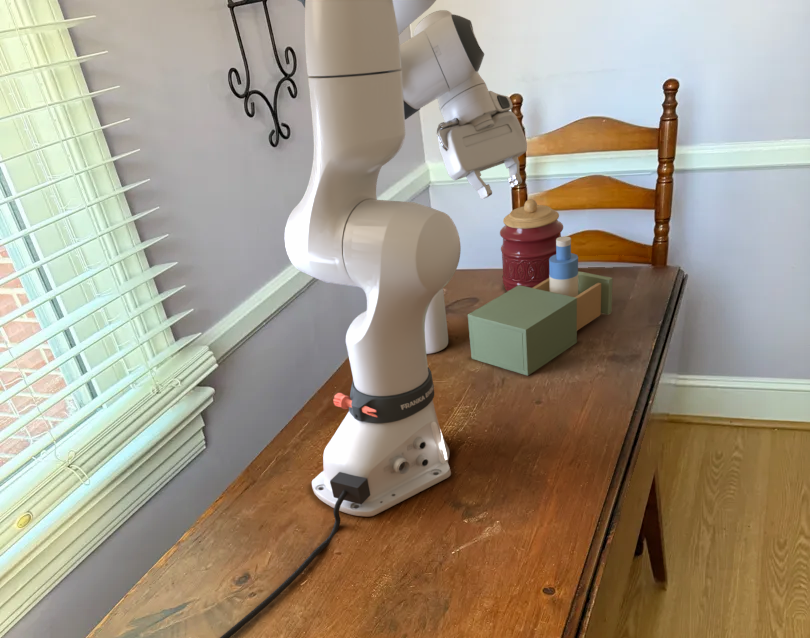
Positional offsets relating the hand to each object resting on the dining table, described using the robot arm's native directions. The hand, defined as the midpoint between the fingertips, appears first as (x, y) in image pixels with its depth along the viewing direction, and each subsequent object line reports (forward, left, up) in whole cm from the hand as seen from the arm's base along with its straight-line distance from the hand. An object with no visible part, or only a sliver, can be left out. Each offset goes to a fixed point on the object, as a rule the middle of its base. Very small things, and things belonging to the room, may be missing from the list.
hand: (502, 191), depth 141 cm
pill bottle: (-16, +7, -25) cm, 31 cm away
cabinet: (-9, -10, -25) cm, 28 cm away
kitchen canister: (+17, +7, -25) cm, 31 cm away
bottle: (+4, -10, -23) cm, 25 cm away
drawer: (+6, -10, -24) cm, 27 cm away
